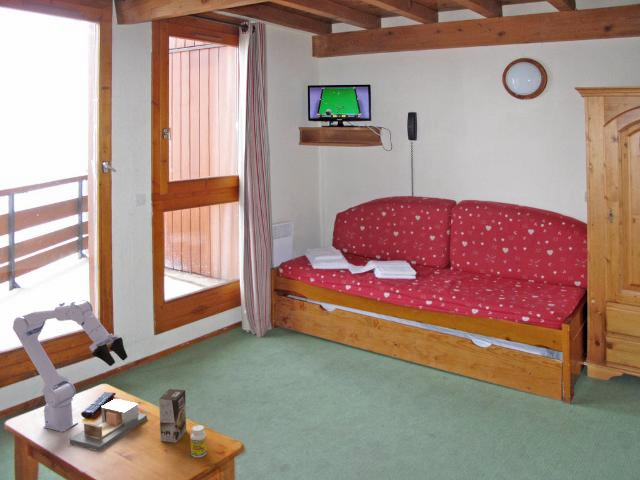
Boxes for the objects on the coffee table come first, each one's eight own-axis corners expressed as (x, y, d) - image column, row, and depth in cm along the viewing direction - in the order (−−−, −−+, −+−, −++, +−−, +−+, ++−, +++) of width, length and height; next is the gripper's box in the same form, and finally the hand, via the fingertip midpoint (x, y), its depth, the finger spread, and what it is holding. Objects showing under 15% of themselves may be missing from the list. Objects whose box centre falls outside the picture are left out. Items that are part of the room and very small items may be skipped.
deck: (70, 443, 228) (69, 439, 228) (119, 412, 252) (119, 408, 251) (99, 451, 223) (99, 446, 223) (147, 418, 247) (146, 415, 247)
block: (106, 422, 239) (106, 412, 238) (115, 417, 243) (115, 407, 243) (116, 425, 237) (116, 414, 236) (125, 419, 242) (125, 409, 241)
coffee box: (177, 443, 229) (175, 400, 226) (159, 441, 230) (158, 398, 227) (187, 431, 238) (186, 389, 235) (170, 429, 239) (169, 388, 236)
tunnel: (102, 421, 241) (101, 406, 240) (115, 413, 248) (114, 398, 247) (125, 426, 237) (124, 412, 236) (138, 418, 244) (137, 403, 243)
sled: (84, 435, 230) (83, 423, 229) (114, 416, 244) (113, 405, 244) (100, 439, 228) (99, 427, 227) (129, 420, 242) (128, 409, 241)
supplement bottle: (206, 449, 225) (205, 423, 223) (207, 457, 220) (206, 430, 218) (190, 450, 224) (189, 425, 222) (191, 458, 219) (190, 432, 217)
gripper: (90, 328, 218) (114, 359, 217) (115, 319, 232) (138, 349, 231) (77, 340, 220) (101, 372, 219) (102, 331, 234) (125, 361, 233)
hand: (119, 361), depth 225 cm, fingers open, 7 cm apart
